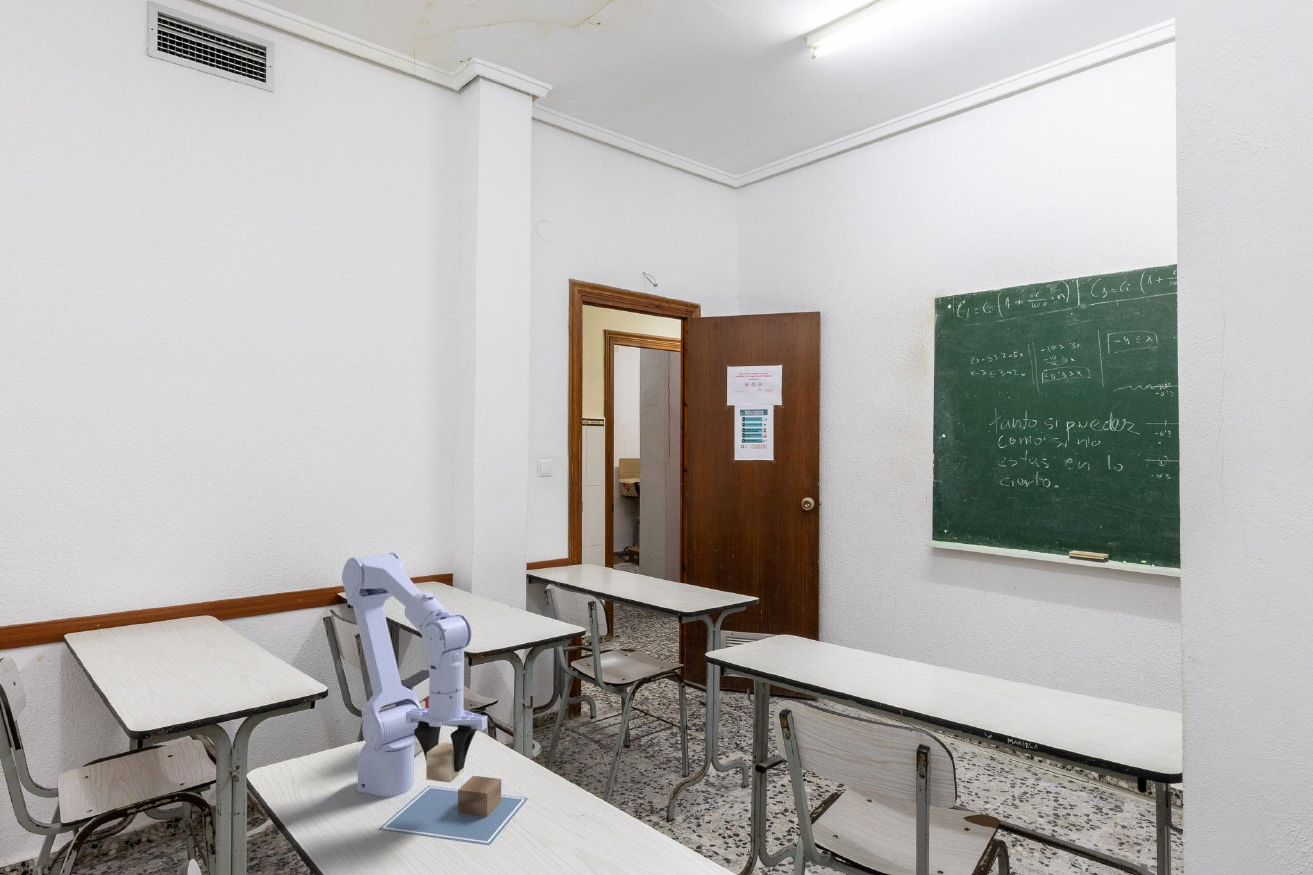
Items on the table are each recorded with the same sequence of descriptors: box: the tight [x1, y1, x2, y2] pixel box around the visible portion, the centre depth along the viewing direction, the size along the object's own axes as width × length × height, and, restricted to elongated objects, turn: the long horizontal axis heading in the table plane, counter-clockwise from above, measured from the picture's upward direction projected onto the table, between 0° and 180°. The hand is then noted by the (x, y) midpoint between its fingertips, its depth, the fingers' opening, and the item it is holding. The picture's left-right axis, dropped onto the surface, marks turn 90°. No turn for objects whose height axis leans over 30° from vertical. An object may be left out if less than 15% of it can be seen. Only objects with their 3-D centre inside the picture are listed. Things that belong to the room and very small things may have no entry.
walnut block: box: [457, 775, 502, 817], centre depth 125 cm, size 6×6×4 cm
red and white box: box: [394, 669, 429, 757], centre depth 151 cm, size 11×4×15 cm, turn 168°
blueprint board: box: [377, 785, 529, 846], centre depth 123 cm, size 20×16×1 cm
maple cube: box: [425, 741, 465, 784], centre depth 122 cm, size 4×4×4 cm
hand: (445, 767), depth 122 cm, fingers closed on maple cube, 4 cm apart
